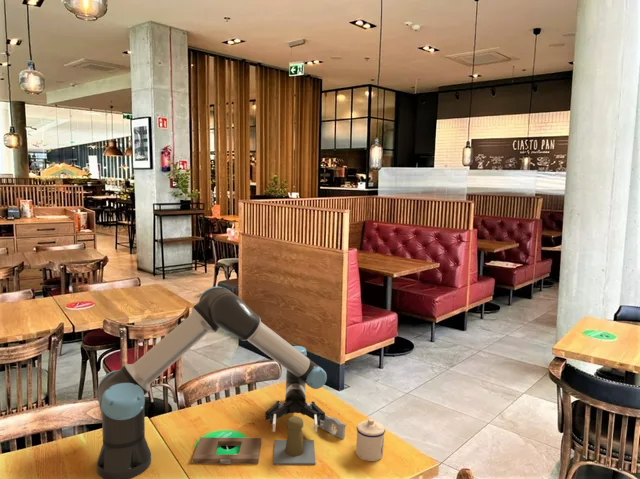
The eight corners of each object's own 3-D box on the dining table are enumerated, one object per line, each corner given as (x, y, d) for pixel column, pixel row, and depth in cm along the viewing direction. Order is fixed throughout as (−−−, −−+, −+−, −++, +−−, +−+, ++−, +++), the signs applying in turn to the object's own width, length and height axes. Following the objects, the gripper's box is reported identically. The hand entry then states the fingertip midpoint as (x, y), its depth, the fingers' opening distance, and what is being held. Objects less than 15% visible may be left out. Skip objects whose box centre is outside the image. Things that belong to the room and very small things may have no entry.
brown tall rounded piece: (301, 457, 150) (302, 424, 149) (282, 454, 151) (283, 421, 150) (305, 447, 156) (306, 415, 154) (287, 444, 157) (288, 412, 156)
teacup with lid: (387, 461, 151) (389, 426, 149) (359, 463, 149) (361, 428, 148) (376, 440, 162) (377, 408, 161) (350, 442, 161) (351, 409, 159)
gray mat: (272, 464, 147) (273, 462, 147) (274, 441, 160) (275, 439, 160) (315, 464, 147) (315, 463, 147) (313, 441, 160) (313, 440, 160)
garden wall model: (317, 426, 170) (317, 411, 169) (320, 425, 171) (321, 409, 171) (342, 440, 162) (343, 423, 161) (346, 438, 163) (346, 421, 163)
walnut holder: (192, 464, 145) (192, 459, 145) (200, 441, 158) (200, 437, 158) (258, 464, 146) (258, 459, 146) (261, 442, 159) (261, 437, 159)
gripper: (329, 408, 177) (333, 439, 156) (261, 407, 176) (256, 438, 155) (329, 388, 176) (333, 417, 155) (261, 388, 175) (256, 416, 154)
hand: (295, 428), depth 155 cm, fingers open, 13 cm apart
